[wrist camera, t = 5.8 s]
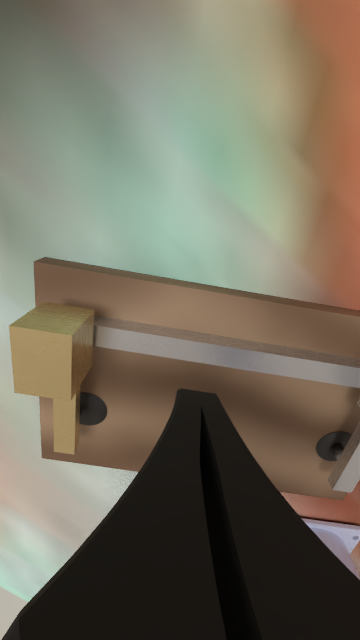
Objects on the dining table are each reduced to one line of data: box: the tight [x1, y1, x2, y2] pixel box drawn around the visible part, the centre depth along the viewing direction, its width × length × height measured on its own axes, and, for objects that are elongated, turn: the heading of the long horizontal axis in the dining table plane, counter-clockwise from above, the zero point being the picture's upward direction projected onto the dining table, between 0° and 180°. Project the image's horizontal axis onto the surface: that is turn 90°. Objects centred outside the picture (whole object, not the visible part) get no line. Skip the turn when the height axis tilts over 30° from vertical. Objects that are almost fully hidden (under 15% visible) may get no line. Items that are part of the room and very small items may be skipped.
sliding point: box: [9, 302, 94, 455], centre depth 14 cm, size 9×2×4 cm, turn 171°
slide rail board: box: [34, 257, 360, 500], centre depth 18 cm, size 14×22×1 cm, turn 80°
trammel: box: [93, 315, 360, 492], centre depth 15 cm, size 9×21×4 cm, turn 80°
